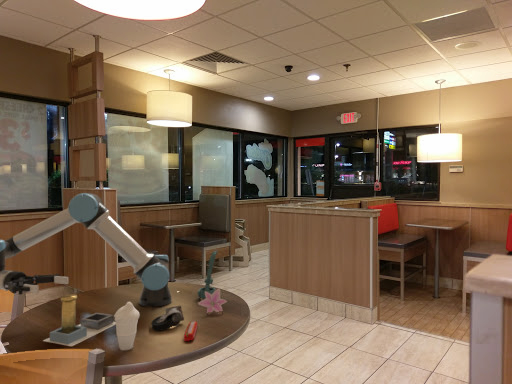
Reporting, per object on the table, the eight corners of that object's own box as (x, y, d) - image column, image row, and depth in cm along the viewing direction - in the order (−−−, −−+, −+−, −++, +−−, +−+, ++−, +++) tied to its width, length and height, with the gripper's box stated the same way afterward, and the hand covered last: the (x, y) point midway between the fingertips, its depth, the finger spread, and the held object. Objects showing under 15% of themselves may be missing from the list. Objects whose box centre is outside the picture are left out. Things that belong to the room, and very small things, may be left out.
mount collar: (96, 319, 149) (96, 312, 149) (113, 322, 146) (113, 315, 146) (80, 326, 141) (80, 319, 141) (98, 329, 138) (98, 322, 138)
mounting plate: (93, 320, 150) (93, 318, 150) (119, 325, 146) (119, 322, 146) (42, 343, 127) (42, 340, 127) (71, 349, 123) (71, 346, 123)
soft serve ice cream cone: (107, 350, 123) (108, 303, 123) (124, 341, 131) (125, 296, 131) (127, 354, 120) (128, 306, 120) (144, 345, 128) (144, 299, 128)
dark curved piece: (207, 308, 174) (226, 259, 175) (188, 299, 176) (207, 250, 177) (215, 302, 188) (232, 257, 189) (197, 294, 190) (215, 249, 191)
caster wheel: (151, 338, 140) (158, 324, 150) (179, 332, 140) (184, 319, 150) (147, 322, 139) (154, 309, 149) (175, 316, 139) (181, 304, 149)
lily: (193, 316, 161) (197, 300, 157) (203, 298, 172) (207, 283, 168) (218, 325, 160) (223, 310, 156) (226, 307, 171) (231, 292, 166)
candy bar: (188, 327, 146) (189, 319, 146) (198, 327, 146) (198, 319, 146) (182, 343, 130) (183, 335, 130) (193, 343, 130) (193, 335, 130)
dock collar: (68, 332, 135) (68, 324, 135) (86, 335, 133) (87, 327, 133) (49, 340, 127) (49, 332, 127) (68, 344, 125) (68, 335, 125)
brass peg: (78, 334, 133) (78, 293, 133) (74, 340, 128) (75, 298, 128) (62, 335, 132) (63, 294, 132) (58, 341, 127) (58, 298, 127)
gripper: (39, 282, 157) (78, 286, 150) (-21, 299, 133) (23, 304, 126) (39, 265, 157) (78, 268, 150) (-21, 278, 133) (23, 283, 126)
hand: (53, 284), depth 138 cm, fingers open, 13 cm apart
